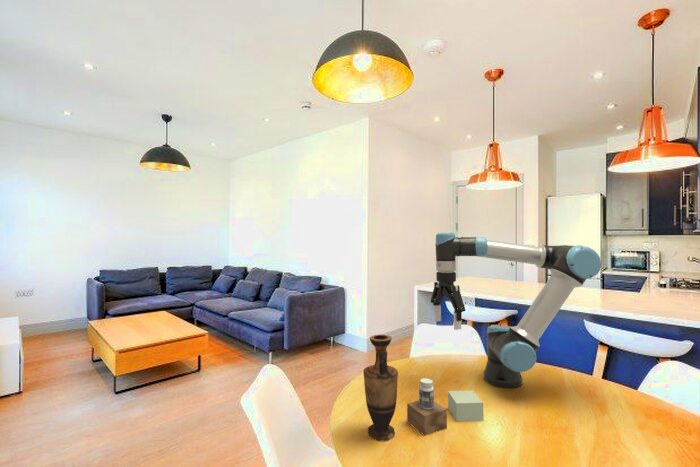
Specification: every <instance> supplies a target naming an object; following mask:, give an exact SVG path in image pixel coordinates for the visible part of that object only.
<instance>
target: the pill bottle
mask: <svg viewBox="0 0 700 467" xmlns="http://www.w3.org/2000/svg"><path fill="white" fill-rule="evenodd" d="M419 382H420V383H419V384H420V385H419V387H418V391H419V392H418V393H419V394H418V395H419V396H418V397H419V405H420V407H421V408H423V409H426V410H430V409H433V408H434V402H435V388H434V386H433V385H434V380H432V379H430V378H424V377H423V378H421V379H420V380H419Z"/></svg>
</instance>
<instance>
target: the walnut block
mask: <svg viewBox="0 0 700 467" xmlns="http://www.w3.org/2000/svg"><path fill="white" fill-rule="evenodd" d="M447 410H448V409H447V408H445V407H444V406H443V405H441V404H439V403H437V402H436V401H434V408H433V409H430V410H426V409H423V408H421V407H420V405H419V400H415V401H412V402H408V403H406V414H407V416H406V418H407V420H406V421H408V422H409V423H408V422H407V423H408V424H409V425H411V424H412V425H413V426H414V427H413V426H412V425H411V426H412V427H413V428H415V429H416V430H417V429H418V430H419V431H418V430H417V431H418V432H419V433H421V434H422V433H423V434H424V436H427V434H428V435H431V434H434V433H436V431H437V432H439V431H443V430H445V429H447V428H448V412H447ZM433 432H434V433H433ZM430 433H431V434H430ZM423 434H422V435H423Z"/></svg>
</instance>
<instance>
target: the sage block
mask: <svg viewBox="0 0 700 467" xmlns="http://www.w3.org/2000/svg"><path fill="white" fill-rule="evenodd" d="M447 408H448V409H447V410H449V412H450V414H451V415H452V417H453V418H454V420H455V419H456V420H455V421H456V422H483V421H484V402H483V401H482V399H481V398H480V397H479V396H478V394H476V393H475V391H474V390H450V391H449V390H448V391H447Z"/></svg>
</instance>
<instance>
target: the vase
mask: <svg viewBox="0 0 700 467" xmlns="http://www.w3.org/2000/svg"><path fill="white" fill-rule="evenodd" d="M392 338H393V337H392V336H390V335H388V334H375V335H371V336H370V337H369V341H370V343H371V344H372V346H373V347H374V349H375V362H374V364H372V365H368V366H366V367H364V369H363V382H364V383H363V384H364V394H365V402H366V408H367V411H368V414H369V417H370V419H371V422H372V424H371V425H370V426H369V427H368V429H367V434H368V437H370V438H371V439H373V440H375V439H376V441H379V440H387V439H389V440H390V439H392V438H391V437H393V438H394V437H395V434H396V433H395V428H394V427H393V426H392V425H390V423H391V421H392V420H393V417H394V414H395V412H396V408H397V407H396V406H397V398H398V396H397V395H398V380H399V379H398V377H399V372H398V369H397V368H396V367H393V366H390V365H388V351H387V347H388V346H390V343H391V341H392ZM387 441H388V440H387Z"/></svg>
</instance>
